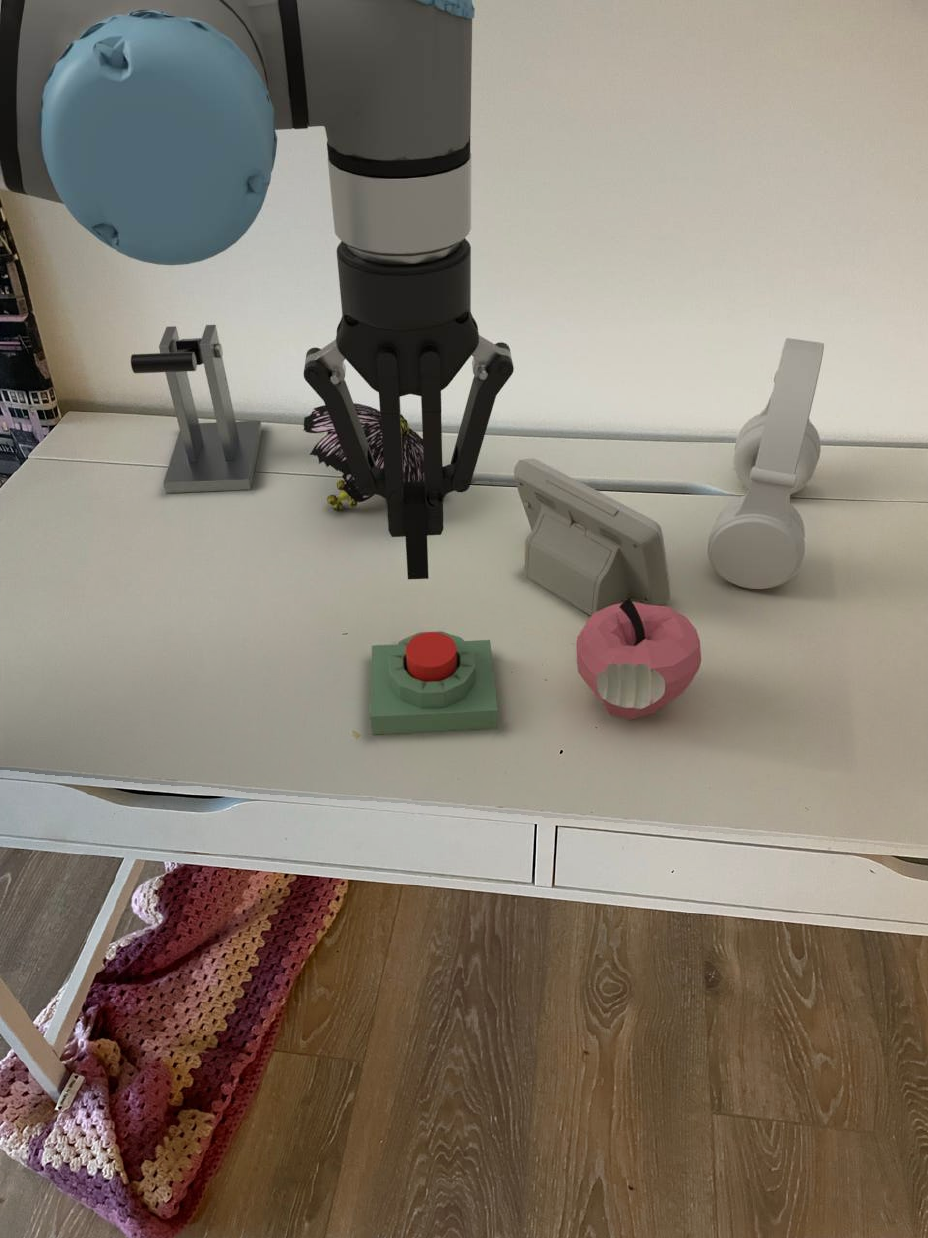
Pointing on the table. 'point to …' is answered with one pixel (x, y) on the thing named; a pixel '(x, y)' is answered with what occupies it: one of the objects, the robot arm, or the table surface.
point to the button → (431, 656)
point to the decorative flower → (371, 424)
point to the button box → (433, 691)
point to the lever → (170, 359)
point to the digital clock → (588, 542)
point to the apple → (637, 657)
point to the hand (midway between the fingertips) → (417, 566)
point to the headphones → (771, 479)
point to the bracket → (208, 428)
